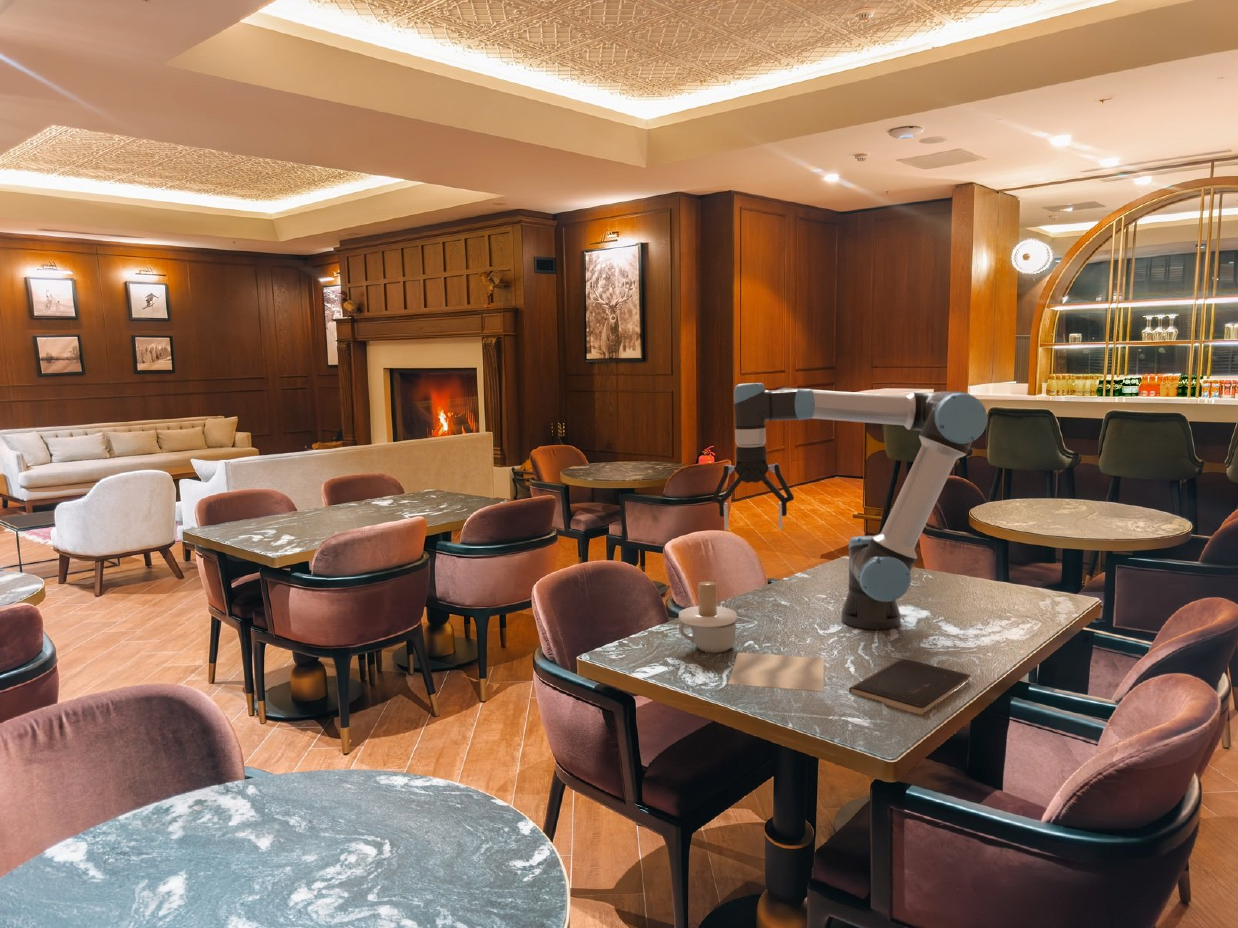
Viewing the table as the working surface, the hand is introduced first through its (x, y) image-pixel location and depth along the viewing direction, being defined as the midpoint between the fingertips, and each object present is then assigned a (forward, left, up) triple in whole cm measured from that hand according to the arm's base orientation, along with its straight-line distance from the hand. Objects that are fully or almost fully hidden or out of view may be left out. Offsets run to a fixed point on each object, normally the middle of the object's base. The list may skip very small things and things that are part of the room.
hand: (753, 529), depth 208 cm
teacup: (+10, +13, -28) cm, 32 cm away
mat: (-8, +25, -28) cm, 38 cm away
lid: (+10, +13, -20) cm, 26 cm away
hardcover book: (-35, +29, -28) cm, 54 cm away
